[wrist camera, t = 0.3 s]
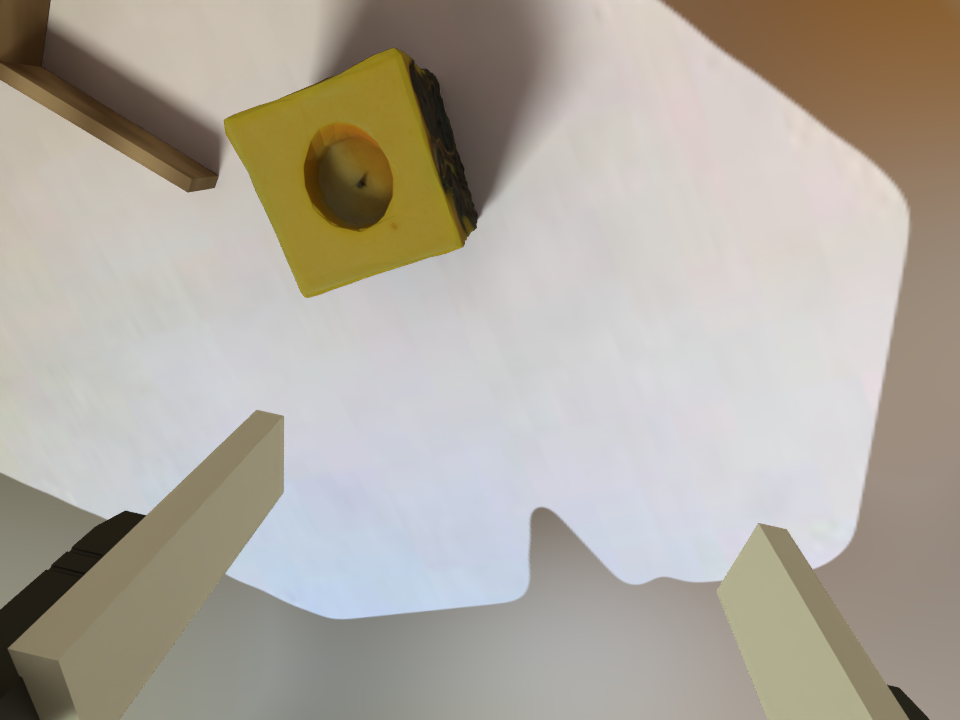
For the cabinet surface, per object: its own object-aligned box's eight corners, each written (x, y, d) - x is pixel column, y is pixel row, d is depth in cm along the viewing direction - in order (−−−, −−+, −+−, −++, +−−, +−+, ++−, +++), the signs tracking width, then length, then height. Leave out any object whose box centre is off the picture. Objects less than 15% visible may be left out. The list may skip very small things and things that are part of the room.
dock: (24, 72, 32) (-77, 60, 27) (60, -219, 26) (-65, -313, 20) (214, 187, 34) (156, 197, 29) (292, -52, 28) (236, -97, 22)
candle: (357, 262, 36) (302, 305, 27) (298, 123, 32) (210, 119, 23) (482, 224, 34) (467, 255, 25) (435, 69, 30) (397, 42, 21)
